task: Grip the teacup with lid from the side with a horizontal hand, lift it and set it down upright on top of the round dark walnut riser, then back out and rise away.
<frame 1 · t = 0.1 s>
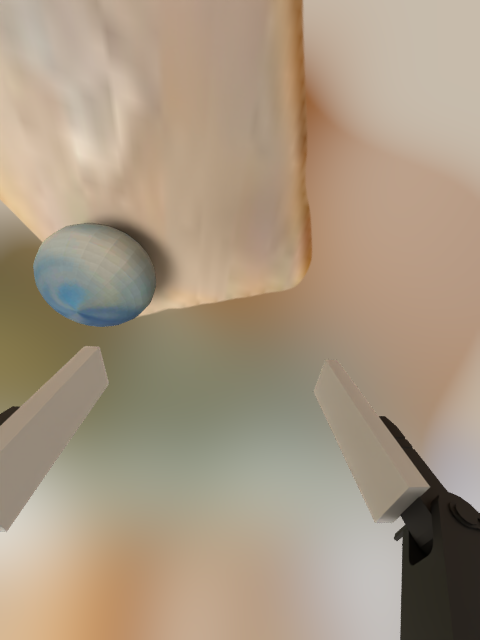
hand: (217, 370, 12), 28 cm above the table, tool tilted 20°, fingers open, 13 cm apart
decorative ball: (122, 252, 37), on the table
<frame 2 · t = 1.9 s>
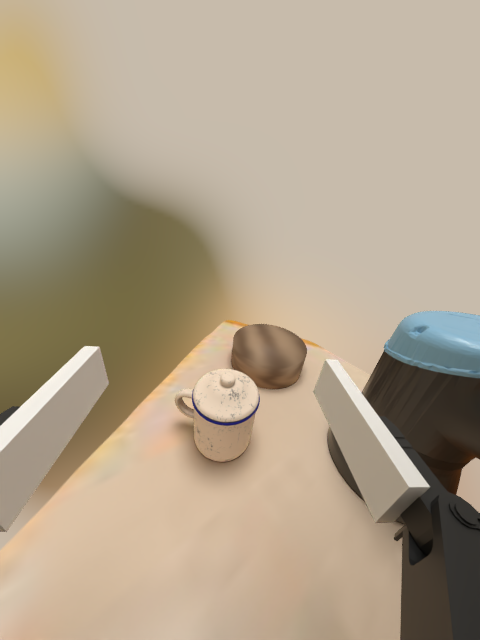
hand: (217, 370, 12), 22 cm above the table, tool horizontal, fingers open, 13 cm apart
walnut riser: (265, 363, 48), on the table
teacup with lid: (213, 431, 32), on the table
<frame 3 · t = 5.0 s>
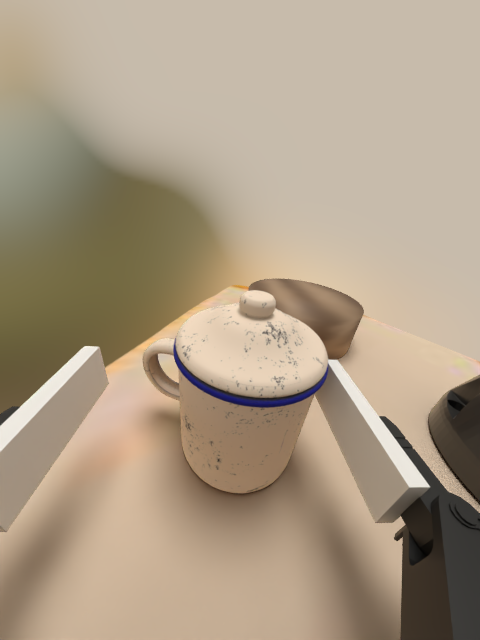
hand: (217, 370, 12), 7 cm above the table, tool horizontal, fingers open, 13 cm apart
walnut riser: (293, 330, 33), on the table
teacup with lid: (219, 427, 17), on the table, touching gripper
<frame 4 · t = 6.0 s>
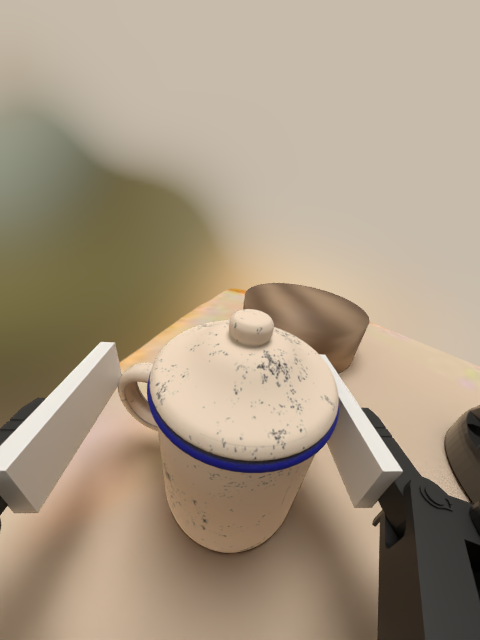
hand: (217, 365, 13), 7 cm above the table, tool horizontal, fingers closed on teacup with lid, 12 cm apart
walnut riser: (293, 339, 31), on the table
teacup with lid: (210, 460, 15), on the table, touching gripper
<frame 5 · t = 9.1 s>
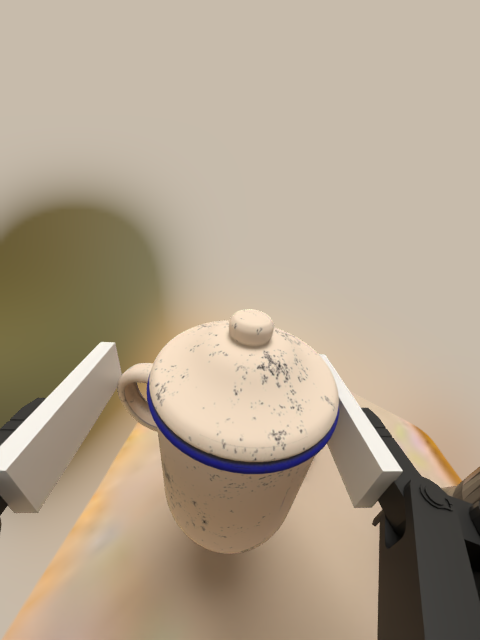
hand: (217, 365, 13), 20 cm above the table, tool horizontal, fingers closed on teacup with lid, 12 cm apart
teacup with lid: (210, 461, 15), point 13 cm above the table, touching gripper
when the fingers open (14 cm above the table, at t = 12.2 s): teacup with lid drops 2 cm, resting on walnut riser.
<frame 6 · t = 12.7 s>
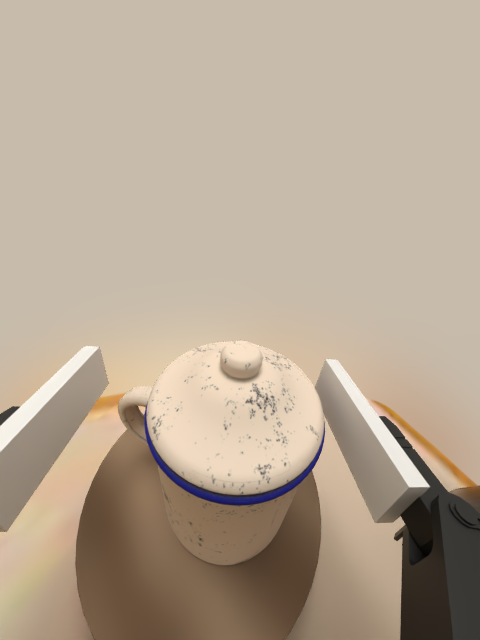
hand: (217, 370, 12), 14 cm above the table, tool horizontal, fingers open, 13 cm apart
walnut riser: (207, 509, 18), on the table, touching teacup with lid
teacup with lid: (208, 474, 15), point 6 cm above the table, touching walnut riser
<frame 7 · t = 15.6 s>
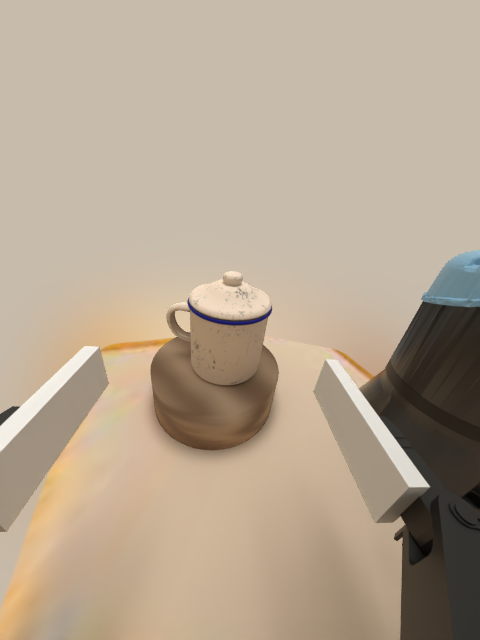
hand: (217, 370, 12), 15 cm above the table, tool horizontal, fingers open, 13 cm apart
walnut riser: (214, 393, 30), on the table, touching teacup with lid
teacup with lid: (214, 360, 27), point 6 cm above the table, touching walnut riser
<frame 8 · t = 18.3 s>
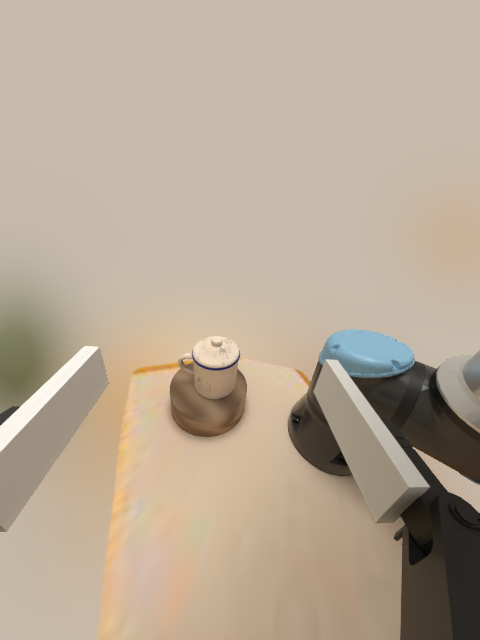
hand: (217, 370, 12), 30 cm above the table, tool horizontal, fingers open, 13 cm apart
walnut riser: (208, 403, 47), on the table, touching teacup with lid
teacup with lid: (208, 382, 44), point 6 cm above the table, touching walnut riser
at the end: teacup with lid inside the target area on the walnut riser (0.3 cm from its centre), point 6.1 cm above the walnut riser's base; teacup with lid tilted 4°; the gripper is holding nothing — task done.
